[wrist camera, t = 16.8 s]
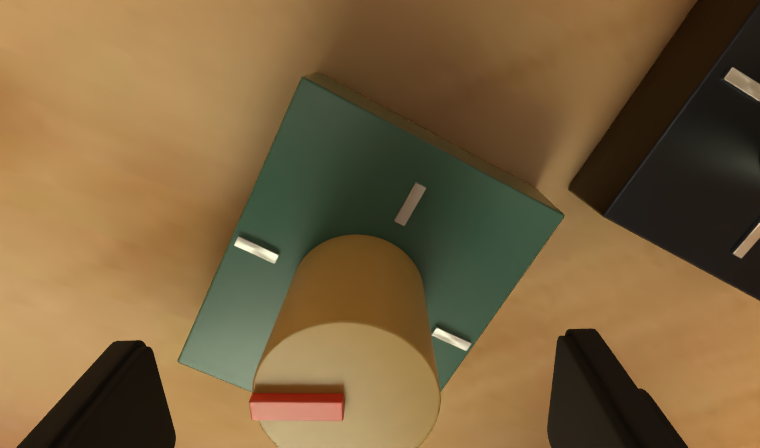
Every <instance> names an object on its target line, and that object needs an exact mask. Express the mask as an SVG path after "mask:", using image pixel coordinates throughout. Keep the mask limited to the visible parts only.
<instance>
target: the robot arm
mask: <svg viewBox="0 0 760 448" xmlns="http://www.w3.org/2000/svg"><path fill="white" fill-rule="evenodd" d="M547 432H548V439H549V443H550V446H551V448H688V446H687V445H686V444H685V442H684V441H683V440H682V438H681V437H680V435H679V434H678V433H677V431H676V430H675V429H674V427H673V426H672V425H671V423H670V422H669V420H668V419H667V418H666V416H665V415H664V414H663V412H662V411H661V409H660V408H659V407H658V405H657V404H656V403H655V401H654V400H653V399H652V397H651V396H650V395H649V394H648V393H647V392H646V391H645V390H643V389H638V388H637V386H636V385H635V384H634V382H633V381H632V379H631V378H630V377H629V375H628V374H627V372H626V371H625V370H624V368H623V367H622V365H621V364H620V363H619V361H618V360H617V358H616V357H615V355H614V354H613V353H612V351H611V350H610V348H609V347H608V346H607V344H606V343H605V341H604V340H603V339H602V337H601V336H600V334H599V333H598V332H597V331H596V330H595V329H568V330H567V331H566V333H565V336H559V337H558V340H557V347H556V356H555V365H554V373H553V382H552V390H551V399H550V408H549V416H548V425H547ZM175 441H176V435H175V430H174V426H173V423H172V419H171V415H170V412H169V408H168V404H167V401H166V397H165V393H164V390H163V386H162V383H161V379H160V375H159V372H158V368H157V364H156V361H155V357H154V353H153V350H152V349H151V348H150V347H146V345H145V343H144V342H143V341H140V340H136V341H116V342H113V343H112V344H111V345H110V346H109V347H108V348H107V349H106V350H105V351H104V352H103V354H102V355H101V356H100V357H99V358H98V359H97V360H96V361H95V362H94V363H93V364H92V366H91V367H90V368H89V369H88V370H87V371H86V372H85V373H84V374H83V375H82V376H81V378H80V379H79V380H78V381H77V382H76V383H75V384H74V385H73V386H72V387H71V389H70V390H69V391H68V392H67V393H66V394H65V395H64V396H63V397H62V398H61V399H60V401H59V402H58V403H57V404H56V405H55V406H54V407H53V408H52V409H51V410H50V411H49V413H48V414H47V415H46V416H45V417H44V418H43V419H42V420H41V421H40V422H39V424H38V425H37V426H36V427H35V428H34V429H33V430H32V431H31V432H30V433H29V434H28V436H27V437H26V438H25V439H24V440H23V441H22V442H21V443H20V444H19V445H18V446H17V448H174V446H175Z"/></svg>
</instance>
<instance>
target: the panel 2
mask: <svg viewBox="0 0 760 448" xmlns="http://www.w3.org/2000/svg"><path fill="white" fill-rule="evenodd" d="M568 189H569V191H571V192H572V193H573V194H574V195H576V196H577V197H578V198H580V199H581V200H582V201H584V202H585V203H586V204H587V205H589V206H590V207H591V208H593V209H594V210H595V211H596V212H598V213H599V214H600V215H602V216H603V217H605V218H607V219H608V220H610V221H612V222H614V223H616V224H618V225H620V226H622V227H623V228H625V229H627V230H629V231H631V232H633V233H635V234H636V235H638V236H640V237H642V238H644V239H646V240H648V241H649V242H651V243H653V244H655V245H657V246H659V247H661V248H662V249H664V250H666V251H668V252H670V253H672V254H674V255H676V256H677V257H679V258H681V259H683V260H685V261H687V262H689V263H690V264H692V265H694V266H696V267H698V268H700V269H702V270H703V271H705V272H707V273H709V274H711V275H713V276H715V277H716V278H718V279H720V280H722V281H724V282H726V283H728V284H730V285H731V286H733V287H735V288H737V289H739V290H741V291H743V292H744V293H746V294H748V295H750V296H752V297H754V298H756V299H757V300H759V301H760V0H698V2H697V3H696V5H695V6H694V7H693V9H692V10H691V12H690V13H689V15H688V16H687V18H686V19H685V20H684V22H683V23H682V25H681V26H680V28H679V29H678V31H677V32H676V33H675V35H674V36H673V38H672V39H671V41H670V42H669V44H668V45H667V46H666V48H665V49H664V51H663V52H662V54H661V55H660V57H659V58H658V59H657V61H656V62H655V64H654V65H653V67H652V68H651V70H650V71H649V72H648V74H647V75H646V77H645V78H644V80H643V81H642V83H641V84H640V85H639V87H638V88H637V90H636V91H635V93H634V94H633V95H632V97H631V98H630V100H629V101H628V103H627V104H626V106H625V107H624V108H623V110H622V111H621V113H620V114H619V116H618V117H617V119H616V120H615V121H614V123H613V124H612V126H611V127H610V129H609V130H608V132H607V133H606V134H605V136H604V137H603V139H602V140H601V142H600V143H599V145H598V146H597V147H596V149H595V150H594V152H593V153H592V155H591V156H590V158H589V159H588V160H587V162H586V163H585V165H584V166H583V168H582V169H581V171H580V172H579V173H578V175H577V176H576V178H575V179H574V181H573V182H572V184H571V185H570V186H569V188H568Z"/></svg>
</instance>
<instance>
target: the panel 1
mask: <svg viewBox="0 0 760 448" xmlns="http://www.w3.org/2000/svg"><path fill="white" fill-rule="evenodd" d="M563 218H564V214H563V213H562V212H561V211H560V210H559V209H558V208H556V207H555V206H554V205H553V204H552V203H551V202H550V201H549V200H548V199H547V198H546V197H545V196H544V195H542V194H541V193H540V192H539V191H538V190H537V189H536V188H534V187H533V186H531V185H529V184H527V183H525V182H523V181H521V180H520V179H518V178H516V177H514V176H512V175H510V174H508V173H506V172H505V171H503V170H501V169H499V168H497V167H495V166H493V165H491V164H490V163H488V162H486V161H484V160H482V159H480V158H478V157H476V156H475V155H473V154H471V153H469V152H467V151H465V150H463V149H461V148H460V147H458V146H456V145H454V144H452V143H450V142H448V141H446V140H445V139H443V138H441V137H439V136H437V135H435V134H433V133H431V132H430V131H428V130H426V129H424V128H422V127H420V126H418V125H416V124H415V123H413V122H411V121H409V120H407V119H405V118H403V117H402V116H400V115H398V114H396V113H394V112H392V111H390V110H388V109H387V108H385V107H383V106H381V105H379V104H377V103H375V102H373V101H372V100H370V99H368V98H366V97H364V96H362V95H360V94H358V93H357V92H355V91H353V90H351V89H349V88H347V87H345V86H343V85H342V84H340V83H338V82H336V81H334V80H332V79H330V78H328V77H327V76H325V75H323V74H321V73H319V72H315V73H312V74H309V75H306V76H303V77H302V78H301V80H300V82H299V84H298V86H297V89H296V91H295V93H294V96H293V98H292V100H291V102H290V105H289V107H288V109H287V112H286V114H285V116H284V118H283V121H282V123H281V125H280V128H279V130H278V132H277V134H276V137H275V139H274V141H273V144H272V146H271V148H270V150H269V153H268V155H267V157H266V160H265V162H264V164H263V166H262V169H261V171H260V173H259V176H258V178H257V180H256V182H255V185H254V187H253V189H252V192H251V194H250V196H249V198H248V201H247V203H246V205H245V208H244V210H243V212H242V214H241V217H240V219H239V221H238V224H237V226H236V228H235V230H234V233H233V235H232V237H231V240H230V242H229V244H228V246H227V249H226V251H225V253H224V256H223V258H222V260H221V262H220V265H219V267H218V269H217V272H216V274H215V276H214V278H213V281H212V283H211V285H210V288H209V290H208V292H207V294H206V297H205V299H204V301H203V304H202V306H201V308H200V310H199V313H198V315H197V317H196V320H195V322H194V324H193V326H192V329H191V331H190V333H189V336H188V338H187V340H186V342H185V345H184V347H183V349H182V352H181V354H180V356H179V358H178V362H179V363H181V364H183V365H186V366H188V367H191V368H193V369H196V370H198V371H201V372H203V373H206V374H208V375H211V376H213V377H216V378H218V379H220V380H223V381H225V382H228V383H230V384H233V385H235V386H238V387H240V388H243V389H245V390H248V391H250V392H252V384H253V378H254V375H255V372H256V369H257V366H258V364H259V361H260V359H261V356H262V354H263V351H264V349H265V346H266V344H267V341H268V339H269V336H270V334H271V331H272V329H273V326H274V324H275V321H276V319H277V316H278V314H279V311H280V309H281V306H282V304H283V301H284V299H285V296H286V294H287V291H288V289H289V286H290V284H291V281H292V279H293V276H294V274H295V272H296V269H297V267H298V265H299V264H300V262H301V261H302V259H303V258H304V257H305V256H306V255H307V254H308V253H309V252H310V251H311V250H312V249H314V248H315V247H316V246H318V245H319V244H321V243H323V242H325V241H327V240H329V239H332V238H335V237H339V236H344V235H354V234H359V235H369V236H374V237H377V238H381V239H384V240H386V241H388V242H390V243H392V244H394V245H395V246H397V247H398V248H400V249H401V250H402V251H403V252H405V253H406V254H407V255H408V256H409V257H410V258H411V260H412V261H413V262H414V264H415V265H416V267H417V269H418V271H419V273H420V275H421V278H422V281H423V287H424V293H425V299H426V305H427V311H428V317H429V323H430V330H431V336H432V342H433V348H434V354H435V360H436V367H437V373H438V379H439V385H440V391H442V389H443V388H444V386H445V385H446V384H447V382H448V381H449V379H450V378H451V376H452V375H453V374H454V372H455V371H456V369H457V368H458V367H459V365H460V364H461V362H462V361H463V359H464V358H465V357H466V355H467V354H468V352H469V351H470V350H471V348H472V347H473V345H474V344H475V342H476V341H477V340H478V338H479V337H480V335H481V334H482V333H483V331H484V330H485V328H486V327H487V325H488V324H489V323H490V321H491V320H492V318H493V317H494V316H495V314H496V313H497V311H498V310H499V308H500V307H501V306H502V304H503V303H504V301H505V300H506V299H507V297H508V296H509V294H510V293H511V291H512V290H513V289H514V287H515V286H516V284H517V283H518V282H519V280H520V279H521V277H522V276H523V274H524V273H525V272H526V270H527V269H528V267H529V266H530V265H531V263H532V262H533V260H534V259H535V257H536V256H537V255H538V253H539V252H540V250H541V249H542V248H543V246H544V245H545V243H546V242H547V240H548V239H549V238H550V236H551V235H552V233H553V232H554V231H555V229H556V228H557V226H558V225H559V223H560V222H561V221H562V219H563Z"/></svg>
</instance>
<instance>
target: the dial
mask: <svg viewBox="0 0 760 448" xmlns="http://www.w3.org/2000/svg"><path fill="white" fill-rule="evenodd" d="M249 403H250V411H251V419H252V420H258V421H259V423H260V425H261V427H262V429H263V430H264V431H265V433H266V434H267V435H268V437H269V438H270V439H271V440H272V441H273V442H274V443H275V444H276V445H277V446H278V447H279V448H417V447H419V446H420V445H421V443H422V442H423V441H424V440H425V439H426V438H427V436H428V435H429V433H430V432H431V431H432V429H433V427H434V425H435V423H436V420H437V417H438V414H439V410H440V403H441V391H440V385H439V379H438V373H437V367H436V360H435V354H434V348H433V342H432V336H431V330H430V323H429V317H428V311H427V305H426V299H425V293H424V287H423V281H422V278H421V275H420V273H419V271H418V269H417V267H416V265H415V264H414V262H413V261H412V260H411V258H410V257H409V256H408V255H407V254H406V253H405V252H403V251H402V250H401V249H400V248H398V247H397V246H395V245H394V244H392V243H390V242H388V241H386V240H384V239H381V238H377V237H374V236H369V235H359V234H354V235H344V236H339V237H335V238H332V239H329V240H327V241H325V242H323V243H321V244H319V245H318V246H316V247H315V248H314V249H312V250H311V251H310V252H309V253H308V254H307V255H306V256H305V257H304V258H303V259H302V261H301V262H300V264H299V265H298V267H297V269H296V272H295V274H294V276H293V279H292V281H291V284H290V286H289V289H288V291H287V294H286V296H285V299H284V301H283V304H282V306H281V309H280V311H279V314H278V316H277V319H276V321H275V324H274V326H273V329H272V331H271V334H270V336H269V339H268V341H267V344H266V346H265V349H264V351H263V354H262V356H261V359H260V361H259V364H258V366H257V369H256V372H255V375H254V378H253V384H252V396H251V398H250V401H249Z"/></svg>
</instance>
